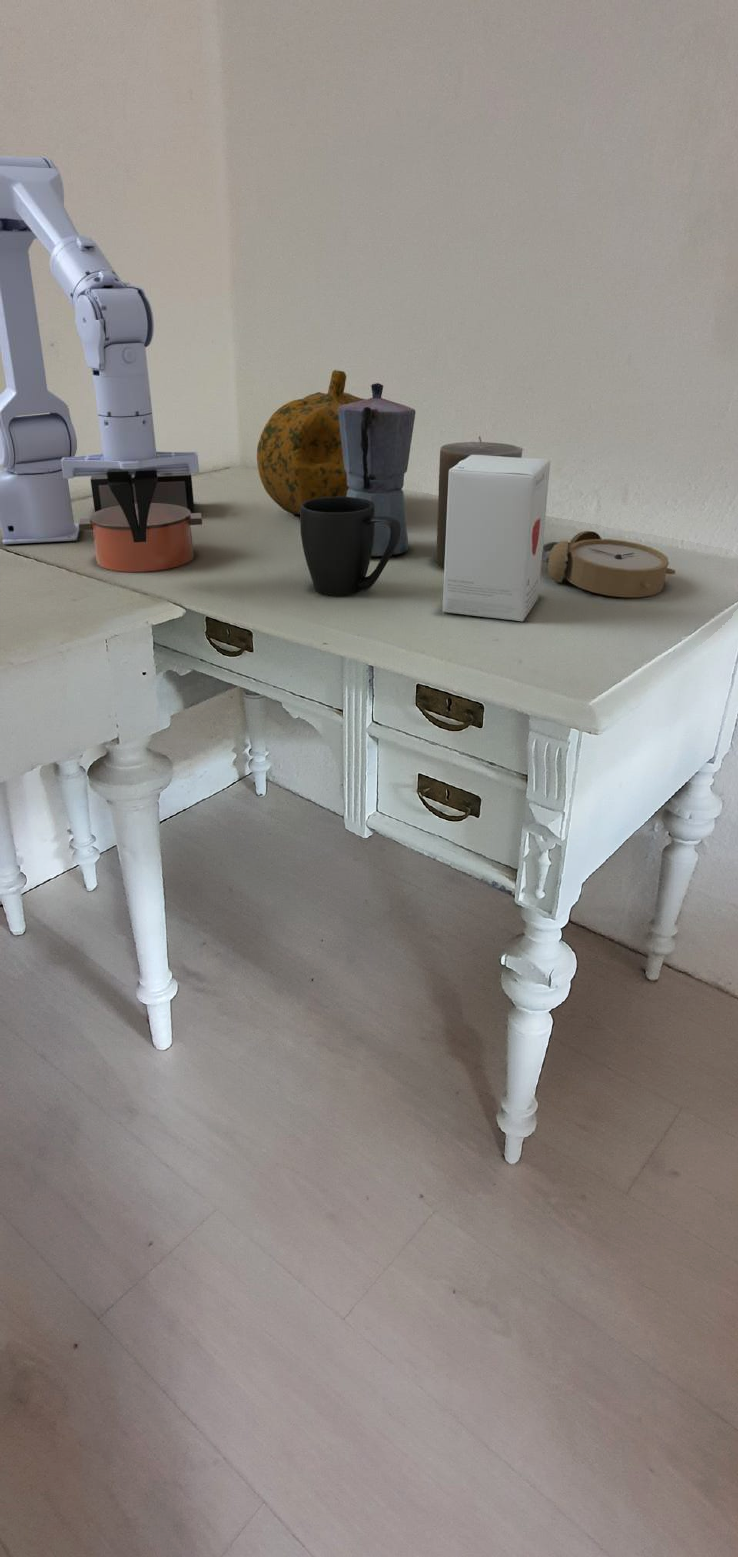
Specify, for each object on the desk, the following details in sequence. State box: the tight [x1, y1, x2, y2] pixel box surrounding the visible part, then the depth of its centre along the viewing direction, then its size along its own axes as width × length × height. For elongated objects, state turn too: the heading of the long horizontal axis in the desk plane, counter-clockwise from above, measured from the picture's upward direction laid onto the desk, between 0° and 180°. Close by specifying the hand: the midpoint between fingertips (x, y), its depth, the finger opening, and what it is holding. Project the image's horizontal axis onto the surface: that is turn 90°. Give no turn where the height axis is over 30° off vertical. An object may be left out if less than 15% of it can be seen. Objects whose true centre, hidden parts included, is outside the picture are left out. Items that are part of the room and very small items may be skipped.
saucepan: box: [78, 503, 203, 573], centre depth 121 cm, size 15×12×6 cm
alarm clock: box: [542, 530, 676, 598], centre depth 112 cm, size 11×5×15 cm
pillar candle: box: [436, 435, 524, 569], centre depth 116 cm, size 10×10×15 cm
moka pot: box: [338, 382, 416, 557], centre depth 119 cm, size 10×15×20 cm, turn 174°
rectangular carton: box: [442, 455, 551, 622], centre depth 101 cm, size 9×9×15 cm
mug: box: [299, 497, 400, 597], centre depth 107 cm, size 8×12×10 cm
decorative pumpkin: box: [256, 369, 367, 516], centre depth 138 cm, size 20×21×20 cm
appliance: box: [90, 467, 196, 513], centre depth 142 cm, size 14×9×7 cm, turn 101°
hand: (140, 540), depth 110 cm, fingers closed
